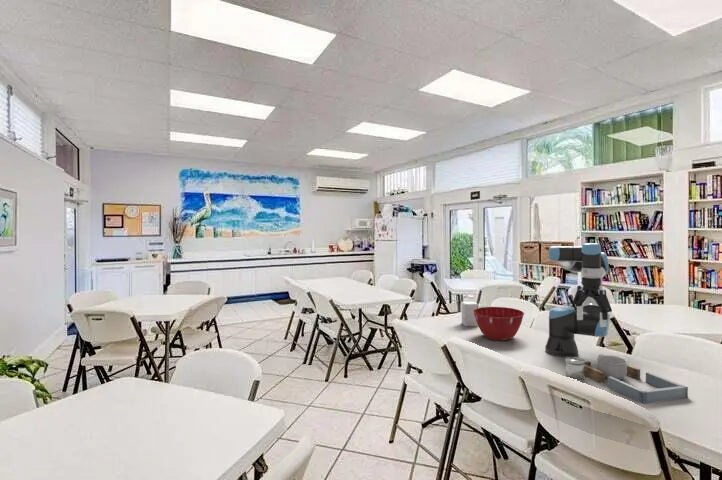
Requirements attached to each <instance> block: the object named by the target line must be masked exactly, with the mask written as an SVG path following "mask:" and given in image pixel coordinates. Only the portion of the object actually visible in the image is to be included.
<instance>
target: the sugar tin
mask: <svg viewBox="0 0 722 480" xmlns="http://www.w3.org/2000/svg"><path fill="white" fill-rule="evenodd" d="M564 358H565V359H564V360H565V377H566V376H567V377H570V378H573V379H577V380H581V381H580V382H582V381H584V380H585V375H584V364H585V361H586V360H585V359H582V358H580V357H577V356H575V357H564Z"/></svg>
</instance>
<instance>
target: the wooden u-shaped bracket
mask: <svg viewBox="0 0 722 480" xmlns="http://www.w3.org/2000/svg"><path fill="white" fill-rule="evenodd" d="M584 361H585V364H584V376H585V377H588V378H591V379H593V380H595V381H596V380H597V382H599V383H601V384H606V378H605V373H604V372H601V371H599V370H598V368H597V369H596V368H595V367H592V362H591V361H589V360H584ZM626 376H629V377H631V378H634V379H636V380H639V379H641V369H640V368H638V367H635V366H633V365H630V364H628V363H627V375H626Z"/></svg>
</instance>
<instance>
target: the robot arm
mask: <svg viewBox="0 0 722 480" xmlns="http://www.w3.org/2000/svg"><path fill="white" fill-rule="evenodd" d="M548 259H549V261H551V262H556V263H557V265H558V266H559V267H560V268H562V269H563V270H565V271H569V272H573V273H574V272H575V273H577V272H578V273H581V276H582V277H581V285H577V289H576V292H575V294H574V297H573V300H572V304H573V305H575V308H574V307H572V306H558V307H553V308H552V307H551V309H549V311H548V338H547V342H546V344H545V347H544V349H545V352H546V353H547V354H549V355H552V356H556V357H562V358H567V357H577V356H579V349H578V345H577V343H576V340H575V335H582V336H589V337H595V338H598V337H601V338H605V337H607V336H608V333H609V327H610V322H611V321H610V319H611V317H610V313H611V312H612V311H613V309H612V307H611V305H610V302H609V298H608V296H607V290H606V289H603V277H605V276H606V274H608V273H609V267H610V266H609V260H608V255H607V253H605V252H603V251H602V246H601V244H600V243H595V242H592V243H590V242H587V243H582V244H581V245H578V246H576V245H575V246H573V245H572V246H568V245H567V246H564V245H562V246H561V245H554V246H552V245H551V246H550V247H549V249H548Z"/></svg>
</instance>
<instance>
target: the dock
mask: <svg viewBox="0 0 722 480" xmlns="http://www.w3.org/2000/svg"><path fill="white" fill-rule="evenodd" d="M645 383H647V384H650V385H652V386H654V387H656V388H654V389H647V390H642V389H640V388H638V387H636V386H634V385H631V384H629V383H626V382H625V381H622V380H621V379H620V380H618V379H616V378H614V377H608V379H607V387H608V388H610V389H612V390H615V391H617V392H618V393H620V394H622V395H624V396H626V397H629V398H631V399H633V400H635V401H637V402H639V403H641V404H651V403H657V402H658V403H659V402H667V401H674V400H680V399H687V398H688V397H689V396H688V395H689V390H688V389H689V387H688V386H685V385H683V384H680V383H678V382H676V381H673V380H670V379H668V378H665V377H662V376H660V375H657V374H654V373H652V372H649V371H648V372H645Z"/></svg>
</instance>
